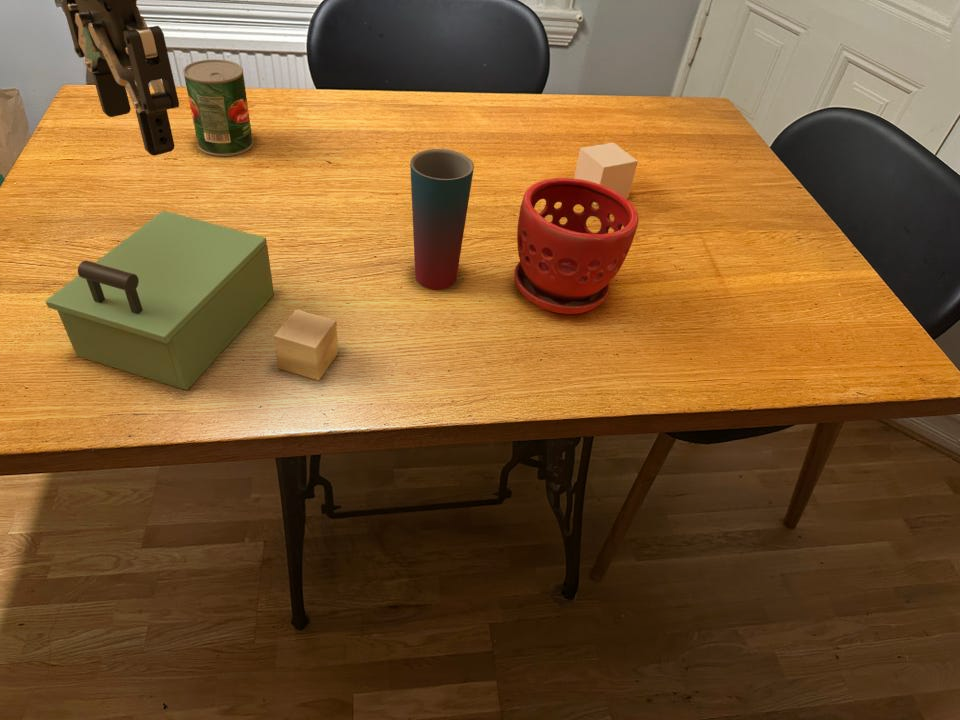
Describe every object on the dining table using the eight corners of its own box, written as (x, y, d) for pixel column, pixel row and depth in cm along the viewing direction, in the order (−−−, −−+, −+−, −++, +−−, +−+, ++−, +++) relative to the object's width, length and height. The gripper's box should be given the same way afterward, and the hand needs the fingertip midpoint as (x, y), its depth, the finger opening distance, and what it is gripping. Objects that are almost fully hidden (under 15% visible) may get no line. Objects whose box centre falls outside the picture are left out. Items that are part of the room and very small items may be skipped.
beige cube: (604, 179, 107) (613, 142, 102) (628, 198, 103) (638, 160, 99) (572, 185, 104) (580, 147, 100) (594, 205, 100) (604, 167, 96)
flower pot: (588, 339, 79) (612, 251, 70) (489, 295, 83) (500, 207, 75) (632, 284, 87) (657, 200, 79) (540, 246, 91) (555, 162, 83)
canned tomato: (192, 136, 105) (177, 61, 97) (245, 129, 108) (235, 56, 100) (204, 160, 100) (189, 84, 92) (259, 152, 103) (249, 77, 95)
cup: (415, 297, 81) (419, 182, 71) (401, 264, 86) (403, 151, 76) (470, 290, 83) (482, 177, 73) (454, 257, 88) (463, 146, 78)
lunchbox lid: (166, 343, 62) (153, 299, 59) (47, 307, 64) (28, 263, 61) (267, 243, 75) (261, 203, 71) (164, 216, 77) (154, 175, 73)
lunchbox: (187, 390, 68) (172, 338, 63) (76, 356, 70) (53, 303, 65) (274, 294, 79) (267, 244, 75) (177, 267, 81) (164, 216, 77)
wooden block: (318, 380, 70) (315, 348, 67) (278, 368, 71) (273, 335, 68) (338, 352, 73) (336, 320, 70) (300, 341, 74) (296, 308, 71)
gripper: (-8, -104, 51) (61, 111, 62) (67, -56, 44) (130, 178, 55) (98, -109, 55) (145, 94, 66) (182, -65, 48) (219, 154, 59)
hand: (138, 132), depth 60 cm, fingers open, 8 cm apart
